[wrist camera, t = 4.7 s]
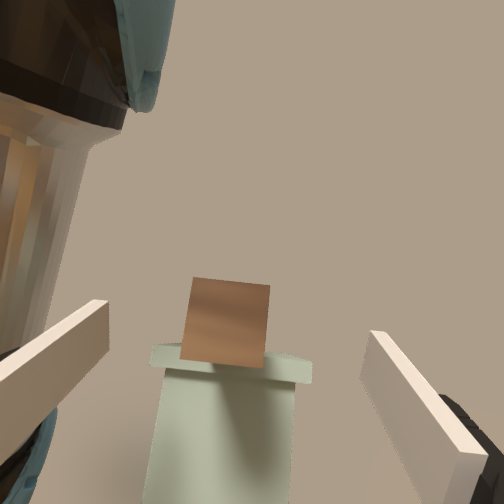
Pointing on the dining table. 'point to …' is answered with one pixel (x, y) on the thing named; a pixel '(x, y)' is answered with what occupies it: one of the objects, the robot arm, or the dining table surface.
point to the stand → (223, 430)
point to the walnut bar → (226, 323)
